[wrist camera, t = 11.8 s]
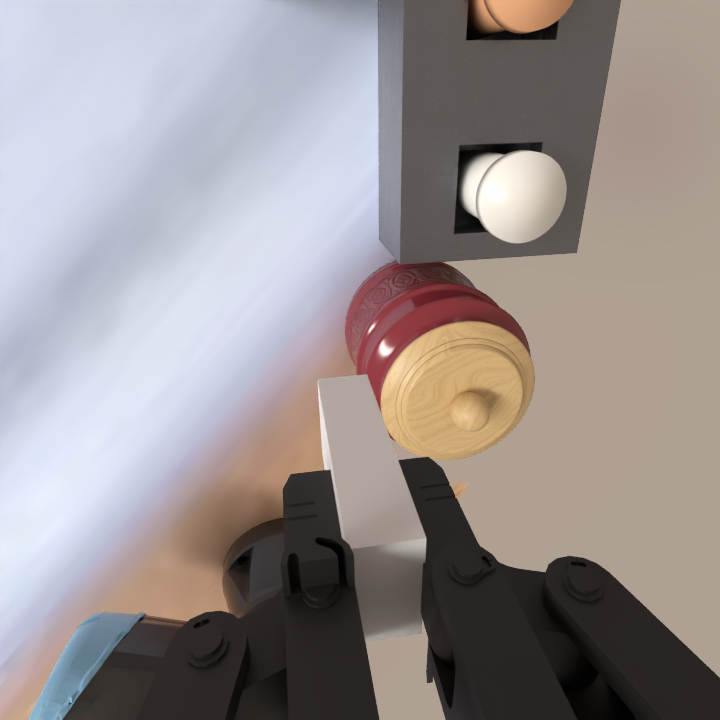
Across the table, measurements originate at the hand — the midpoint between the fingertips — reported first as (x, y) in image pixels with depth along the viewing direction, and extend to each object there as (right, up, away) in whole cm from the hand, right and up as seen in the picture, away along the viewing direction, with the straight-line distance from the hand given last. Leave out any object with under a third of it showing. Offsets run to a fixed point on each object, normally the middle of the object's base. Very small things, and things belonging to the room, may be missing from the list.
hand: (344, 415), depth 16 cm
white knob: (+9, +16, +24) cm, 31 cm away
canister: (+5, +6, +33) cm, 34 cm away
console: (+9, +23, +25) cm, 35 cm away
